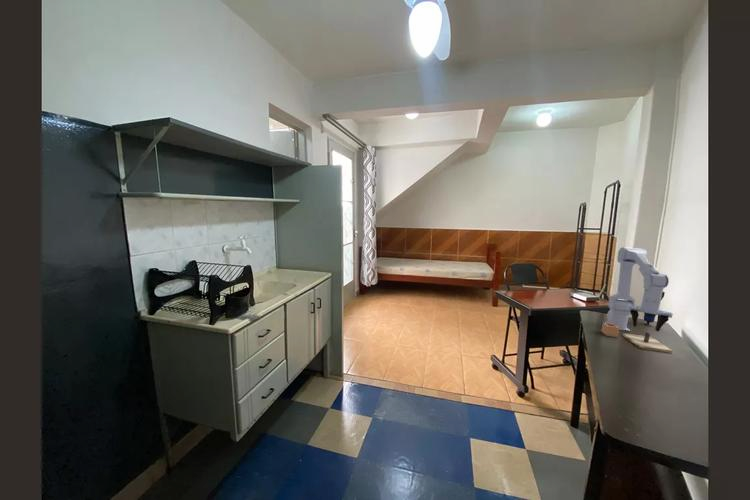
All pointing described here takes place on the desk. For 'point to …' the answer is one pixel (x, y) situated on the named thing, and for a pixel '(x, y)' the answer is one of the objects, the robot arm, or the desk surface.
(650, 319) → the flashlight
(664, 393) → the desk surface
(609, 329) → the square collar
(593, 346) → the desk surface
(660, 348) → the post board
